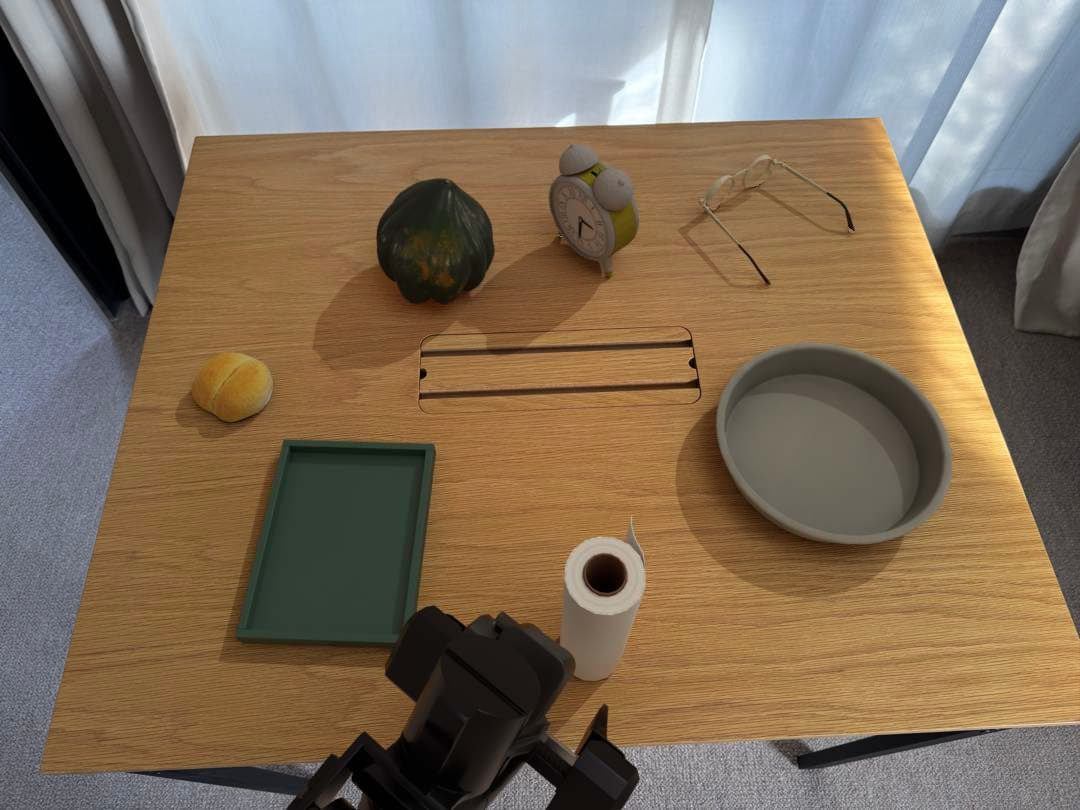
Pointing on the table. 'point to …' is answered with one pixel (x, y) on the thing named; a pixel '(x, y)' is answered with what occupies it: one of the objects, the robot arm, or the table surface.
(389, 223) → the squash
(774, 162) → the wire-rimmed eyeglasses
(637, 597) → the paper towel roll
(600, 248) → the alarm clock
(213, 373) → the bread roll
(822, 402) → the cake pan
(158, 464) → the table surface
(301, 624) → the tray
